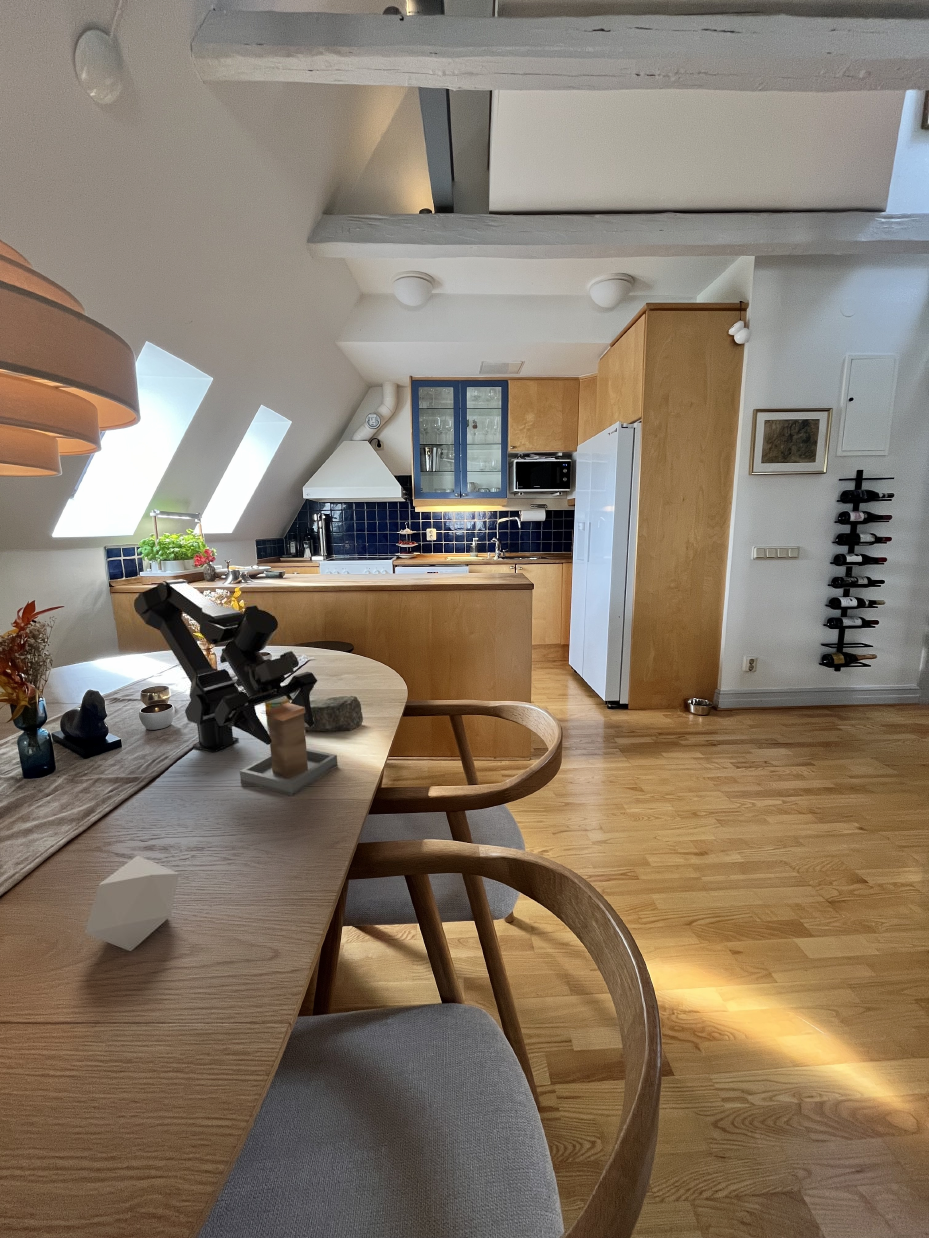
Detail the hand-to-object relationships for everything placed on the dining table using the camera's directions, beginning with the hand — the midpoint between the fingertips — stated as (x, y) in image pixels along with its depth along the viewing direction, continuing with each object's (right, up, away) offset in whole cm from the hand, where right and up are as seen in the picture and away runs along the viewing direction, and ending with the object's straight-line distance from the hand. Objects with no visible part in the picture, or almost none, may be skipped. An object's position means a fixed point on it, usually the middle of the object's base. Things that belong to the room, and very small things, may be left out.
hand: (292, 734), depth 93 cm
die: (-6, -15, -34) cm, 38 cm away
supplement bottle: (-11, -4, +25) cm, 28 cm away
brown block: (-1, -7, +2) cm, 8 cm away
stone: (+1, -4, +24) cm, 24 cm away
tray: (-1, -8, +2) cm, 8 cm away
